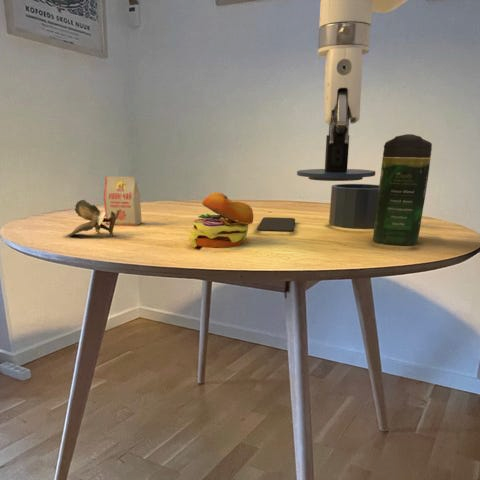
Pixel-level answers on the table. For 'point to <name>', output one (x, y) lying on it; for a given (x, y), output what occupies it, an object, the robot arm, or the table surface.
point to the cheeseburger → (221, 223)
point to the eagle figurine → (93, 218)
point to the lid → (335, 176)
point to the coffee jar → (402, 190)
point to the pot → (353, 205)
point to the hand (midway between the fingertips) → (335, 169)
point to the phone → (276, 224)
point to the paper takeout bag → (122, 200)
